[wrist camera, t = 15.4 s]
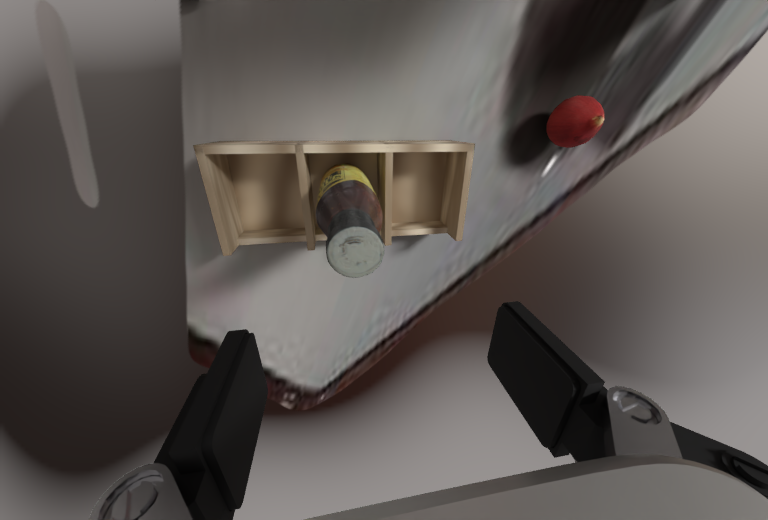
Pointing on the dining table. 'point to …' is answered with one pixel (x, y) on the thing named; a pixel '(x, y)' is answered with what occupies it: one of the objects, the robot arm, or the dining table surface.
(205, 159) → the wooden compartment shelf
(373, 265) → the sauce bottle
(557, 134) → the onion
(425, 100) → the dining table surface
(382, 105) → the dining table surface
